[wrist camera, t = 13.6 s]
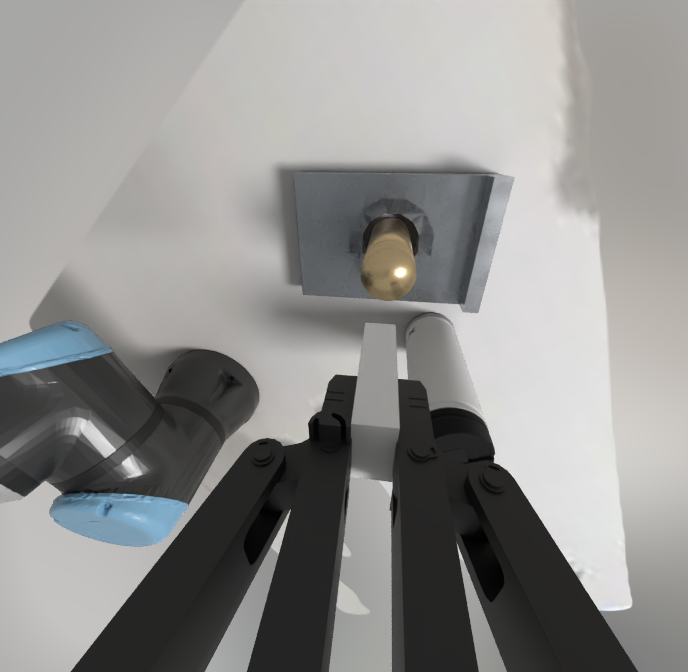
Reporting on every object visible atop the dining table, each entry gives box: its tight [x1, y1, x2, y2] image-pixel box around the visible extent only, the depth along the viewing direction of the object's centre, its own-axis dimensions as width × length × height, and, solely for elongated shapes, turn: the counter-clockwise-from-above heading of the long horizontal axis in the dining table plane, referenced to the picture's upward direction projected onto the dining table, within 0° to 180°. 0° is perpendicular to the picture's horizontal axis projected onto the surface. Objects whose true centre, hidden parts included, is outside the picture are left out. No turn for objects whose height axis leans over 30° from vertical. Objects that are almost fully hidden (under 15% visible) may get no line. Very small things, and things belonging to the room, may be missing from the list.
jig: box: [294, 172, 514, 313], centre depth 32 cm, size 20×13×4 cm, turn 90°
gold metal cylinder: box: [361, 218, 417, 301], centre depth 29 cm, size 4×4×12 cm
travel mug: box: [405, 313, 495, 467], centre depth 31 cm, size 6×7×20 cm
